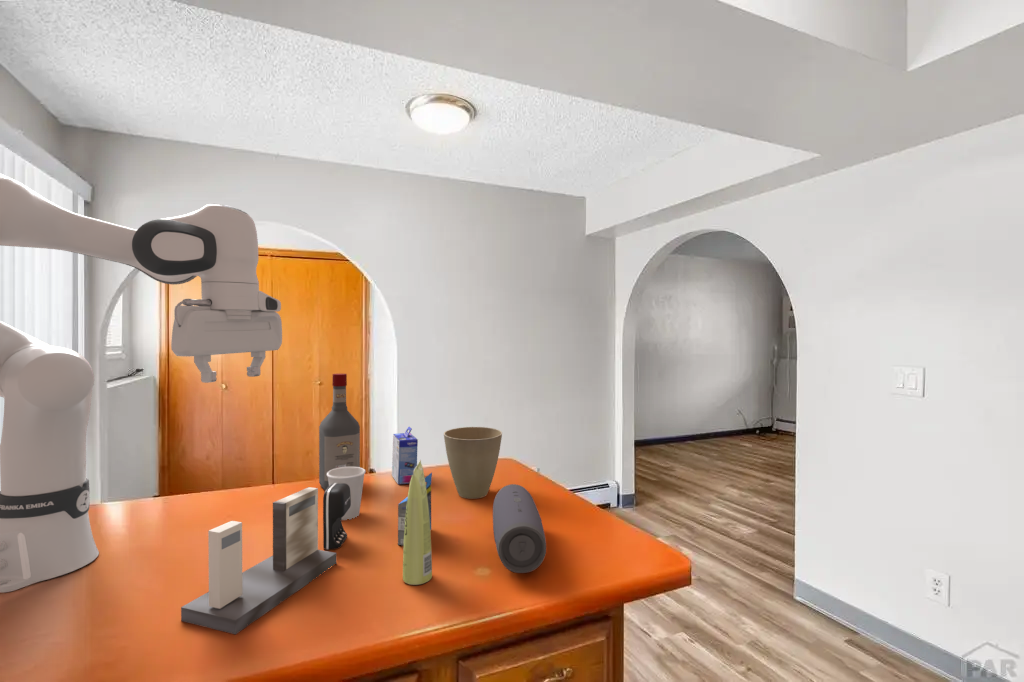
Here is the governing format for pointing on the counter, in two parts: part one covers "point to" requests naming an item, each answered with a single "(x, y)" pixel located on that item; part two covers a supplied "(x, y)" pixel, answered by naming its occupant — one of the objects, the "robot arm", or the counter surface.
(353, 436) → the liquor
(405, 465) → the ink cartridge box
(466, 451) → the plant pot
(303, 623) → the counter surface
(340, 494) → the battery charger
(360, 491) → the dixie cup
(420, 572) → the tube
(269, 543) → the counter surface
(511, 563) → the bluetooth speaker
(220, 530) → the white tall block
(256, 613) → the ticket holder
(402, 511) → the label tape cartridge
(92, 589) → the counter surface
